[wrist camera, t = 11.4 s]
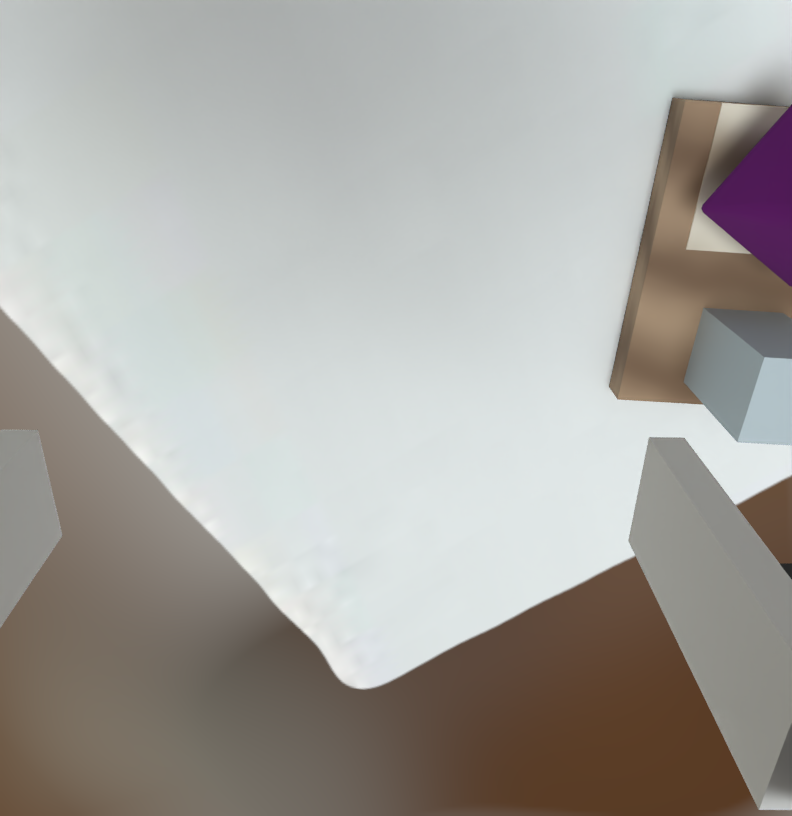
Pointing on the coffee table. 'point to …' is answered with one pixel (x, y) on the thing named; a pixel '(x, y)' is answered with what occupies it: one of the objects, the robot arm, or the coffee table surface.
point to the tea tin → (745, 373)
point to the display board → (691, 251)
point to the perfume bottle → (761, 200)
